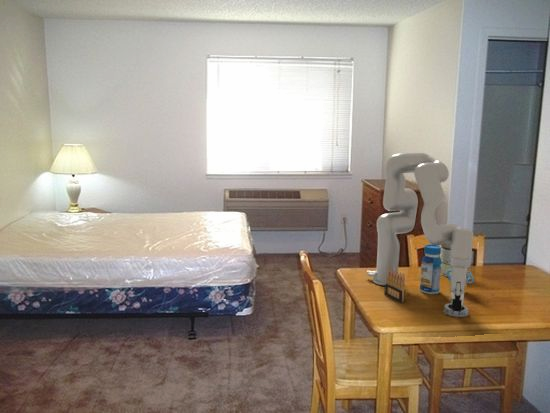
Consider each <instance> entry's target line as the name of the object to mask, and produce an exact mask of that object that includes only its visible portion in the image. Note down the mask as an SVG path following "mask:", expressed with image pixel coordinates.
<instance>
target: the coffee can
mask: <svg viewBox="0 0 550 413" xmlns="http://www.w3.org/2000/svg"><path fill="white" fill-rule="evenodd" d="M440 247H441V254H440V258H441V261H442V264H441V267H442V270H441V274H440V276H444V277H447V278H448V276H447V271H448V270H452V265H450V252H451V244H442V245H440ZM450 274H451V271H450V272H449V275H450Z"/></svg>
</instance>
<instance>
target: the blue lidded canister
mask: <svg viewBox="0 0 550 413" xmlns="http://www.w3.org/2000/svg"><path fill="white" fill-rule="evenodd" d="M423 248H424V251H423V253H424V256H423V257H422V259H421V265H420V272H421V273H420V285H419V291H420V292H422V293H424V294H430V295H433V294H435V295H436V294H439V293H440V285H441V270H442V267H441V264H442V261H441V245H432V244H431V243H428V244H425V245H424V247H423Z"/></svg>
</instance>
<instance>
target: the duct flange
mask: <svg viewBox="0 0 550 413" xmlns="http://www.w3.org/2000/svg"><path fill="white" fill-rule="evenodd" d="M450 305H451V302H449V303H445V304H444V308H443V313H444V314H445V315H446V316H449V317H453V318H460V319H462V318H467V317H469V308H468V306H466V305H464V304H463V310H453V309H450Z"/></svg>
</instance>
